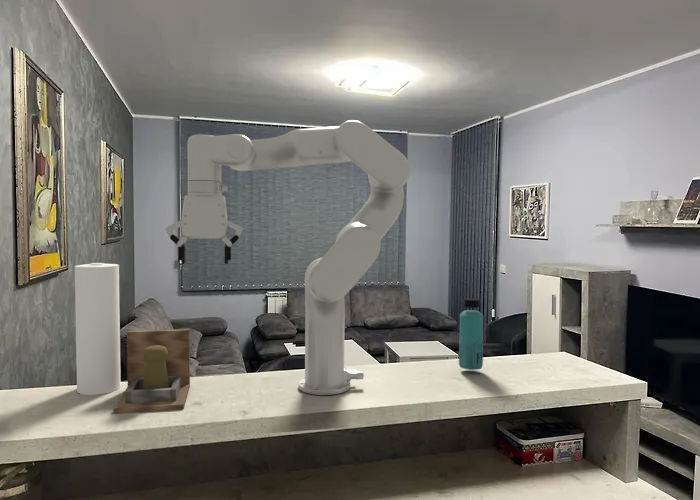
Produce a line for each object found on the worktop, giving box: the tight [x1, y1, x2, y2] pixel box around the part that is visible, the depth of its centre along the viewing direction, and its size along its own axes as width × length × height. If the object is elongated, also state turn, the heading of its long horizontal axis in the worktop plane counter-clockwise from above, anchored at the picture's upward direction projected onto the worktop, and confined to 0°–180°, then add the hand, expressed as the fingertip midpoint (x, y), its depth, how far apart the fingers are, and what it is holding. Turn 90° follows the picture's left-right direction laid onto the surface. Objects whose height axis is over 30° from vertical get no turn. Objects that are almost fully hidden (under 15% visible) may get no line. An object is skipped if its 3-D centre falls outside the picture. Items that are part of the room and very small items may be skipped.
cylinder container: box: [74, 262, 122, 396], centre depth 125 cm, size 9×9×30 cm
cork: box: [143, 345, 169, 389], centre depth 119 cm, size 6×6×11 cm
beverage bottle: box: [458, 298, 484, 371], centre depth 142 cm, size 6×7×20 cm
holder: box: [112, 328, 191, 414], centre depth 119 cm, size 14×16×14 cm
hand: (205, 263), depth 123 cm, fingers open, 9 cm apart
